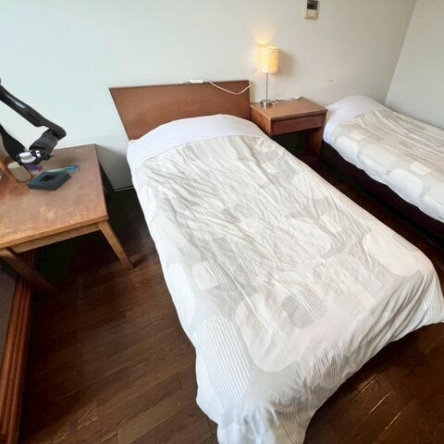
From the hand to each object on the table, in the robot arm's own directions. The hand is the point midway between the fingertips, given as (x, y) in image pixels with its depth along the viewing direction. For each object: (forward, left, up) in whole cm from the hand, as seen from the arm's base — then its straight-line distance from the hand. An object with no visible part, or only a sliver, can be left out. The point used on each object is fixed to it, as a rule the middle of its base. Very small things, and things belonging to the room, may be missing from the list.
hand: (27, 163), depth 118 cm
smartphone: (-7, +21, -18) cm, 28 cm away
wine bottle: (-27, +23, -17) cm, 39 cm away
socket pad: (-5, +9, -17) cm, 20 cm away
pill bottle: (-1, +2, -6) cm, 7 cm away
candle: (-20, +11, -17) cm, 29 cm away
